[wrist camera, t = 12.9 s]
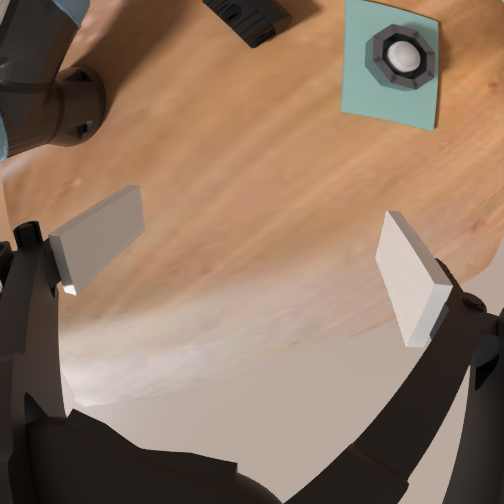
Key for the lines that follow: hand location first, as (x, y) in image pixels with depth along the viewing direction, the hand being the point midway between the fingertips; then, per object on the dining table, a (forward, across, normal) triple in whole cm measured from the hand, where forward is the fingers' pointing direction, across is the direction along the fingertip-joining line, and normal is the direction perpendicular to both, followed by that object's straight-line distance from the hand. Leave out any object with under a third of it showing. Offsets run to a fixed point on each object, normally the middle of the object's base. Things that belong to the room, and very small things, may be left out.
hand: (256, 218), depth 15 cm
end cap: (+29, -6, +20) cm, 36 cm away
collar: (+27, +14, +15) cm, 34 cm away
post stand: (+29, +14, +15) cm, 35 cm away
